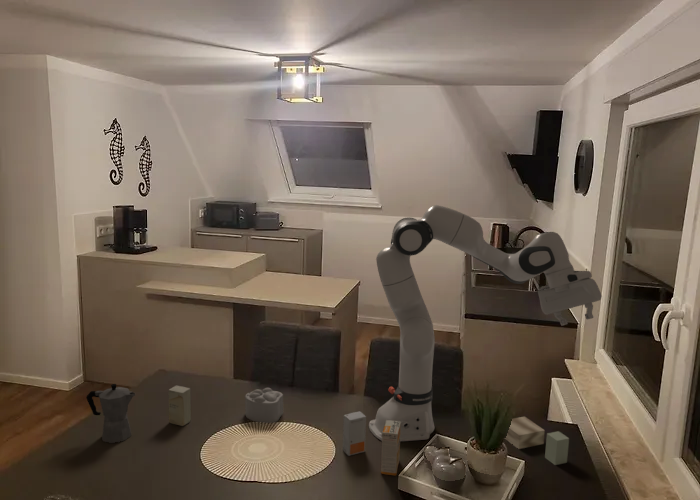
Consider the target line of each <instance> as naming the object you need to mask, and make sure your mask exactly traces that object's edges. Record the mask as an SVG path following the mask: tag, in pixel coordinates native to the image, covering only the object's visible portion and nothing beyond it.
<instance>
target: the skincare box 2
mask: <svg viewBox="0 0 700 500" xmlns="http://www.w3.org/2000/svg"><path fill="white" fill-rule="evenodd" d="M342 425H343V426H342V428H343V429H342V432H343V433H342V450H343V452H344V453H345V454H346V455H347V456H348V457H350V456H354V455H358V454H361V453H365V452H366V430H367V415H365V414H364V413H363V412H362V411H360V410H359V411H354V412H349V413H347V414H344V415H343V424H342Z"/></svg>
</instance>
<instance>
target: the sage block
mask: <svg viewBox="0 0 700 500" xmlns="http://www.w3.org/2000/svg"><path fill="white" fill-rule="evenodd" d="M545 440H546V441H545V454H544V458H545V459H546V460H548V461H549V462H550V463H552V464H553V465H554V466H558V465H562V464H566V463H568V454H569V444H570V438H569V437H568V436H567V435H565V434H563V432H561V431H559V430H558V431H552V432H547V433H546V437H545Z"/></svg>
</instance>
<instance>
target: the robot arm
mask: <svg viewBox="0 0 700 500" xmlns="http://www.w3.org/2000/svg"><path fill="white" fill-rule="evenodd" d="M391 234H392V235H391V238H390V239H391V240H390V245H389V246H387V247H385V248H383V249H381V250H380V251H379V252H378V253H377V255H376V259H375V260H376V266H377V271H378V276H379V279H380V282H381V286H382V289H383V291H384V294H385V296H386V300H387V302H388V304H389V305H388V306H389V307H390V309H391V311H392V313H393V314H394V315H393V316H394V317H395V319H396V322H397V324H398V326H399V330H400V335H399V371H398V372H399V373H398V385H397V386H396V389H395V388H394V387H393V386H389V388H388V392H389V393H390V394H391V395H393V396H392V397H391V398H390V399H389V400H387V401H386V402H385V403H384V404H382V405H381V406H380V407H379V408H378V409H377V412H376V415H375V419H372V420H370V421H369V423H368V428H369V429H368V430H370V432H371V434H372V435H373V436H374V437H375V438H377V439H379V440H380V441H381V442H382V432H383V428H384V425H385V422H386V420H391V421H400V422H401V431H400V442H409V441H410V442H411V441H421V440H425V441H426V440H428V439H429V438H430V435H431V434H432V433H433V432H434V431H435V423H434V419H433V411H432V402H433V393H434V392H433V391H434V390H433V386H432V385H433V384H432V381H433V365H434V356H435V355H434V353H435V333H434V324H433V321H432V317H431V315H430V313H429V311H428V308H427V305H426V302H425V301H424V298H423V296H422V293H421V291H420V290H421V289H420V288H419V285H418V281H417V279H416V276H415V274H414V271H413V267H412V265H411V256H416V255H419V254H420V253H422V252H423V251H424V250H425V249H426V248H427V246H428V245H429V244H430V243H431V242H432V241H433V240H436V241H440V242H442V243H443V244H446V245H448V246H450V247H453V248H454V249H457V250H459V251H461V252H463V253H466V254H467V255H469V256H471V257H473V258H475V259H476V260H478V261H480V262H482V263H484V264H485V265H488V266H489V267H491V268H493V269H495V270H496V271H497V272H499V273H500V274H501V275H502V276H503V277H504V278H505V279H506V280H507V281H509V282H510V283H512V284H516V285H520V284H525V283H526V282H528V281H529V280H531V279H533V278H536V277H538V276H539V275H541V274H542V273H544V276H545V279H546V282H547V283H548V284H546V285H544V286H541V287H539V289H538V290H537V294H538V297H539V304H540V308H541V311H542V313H543V314H544V315H546V316H547V315H551V314H553V316H554V318H555V319H556V320H558V321H559V324H560V325H561V327H562V326H565V325H568V321H567V318H564V317H563V316H562V311H565V310H568V309H573V308H577V307H580V306H584V308H585V309H586V313H585V314H584V316H585V319H586V320H591V319H593V318H594V314H593V310H594V304H593V303H596V302H599V301H601V299H602V292H601V291H600V288H599V286H598V284H597V282H596V280H595V279H593V278H592V277H593V274H592V272H591V271H589V270H575V269H574V266H573V264H572V263H571V261H570V257H569V253H568V250H567V249H568V248H567V246H566V244H565V242H564V240H563V238H562V236H561V235H560V234H559V233H557V232H555V231H545V232H541V233H538V234H536V235H535V236H534V238H533V239H532V240H531V241H530V242H529V243H528V244H526V246H525V247H523V248H522V249H520V250H519V251H517V252H515V253H506V252H504V251H502V250H501V249H500V248H497V247H495V246H493V245H491V244H490V243H488V242H487V241H486V239H484V231H483V226H482V225H481V224H480V222H479V221H477V220H476V219H475V218H472V217H471V216H469V215H467V214H465V213H463V212H461V211H458V210H455V209H453V208H451V207H450V208H449V207H446V206H442V205H437V204H436V205H431V206H430V207H429V208H428V209H426V210H425V213H424V214H423V216H422V217H421V218H419V219H416V218H413V217H404V218H401V219H400V220H399V221H397V222H396V223H395V225H394V227H393V229H392V233H391Z"/></svg>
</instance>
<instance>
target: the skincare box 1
mask: <svg viewBox="0 0 700 500" xmlns="http://www.w3.org/2000/svg"><path fill="white" fill-rule="evenodd" d="M191 400H192V399H191V387H185V386H181V385H177V384H176V385H174V386H173V387H171V388H169V389H168V423H170V424H172V425H178V426H181V427H184V426H185V425H187V424H189V423H191V416H192V415H191V409H192V408H191V407H192V406H191Z"/></svg>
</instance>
